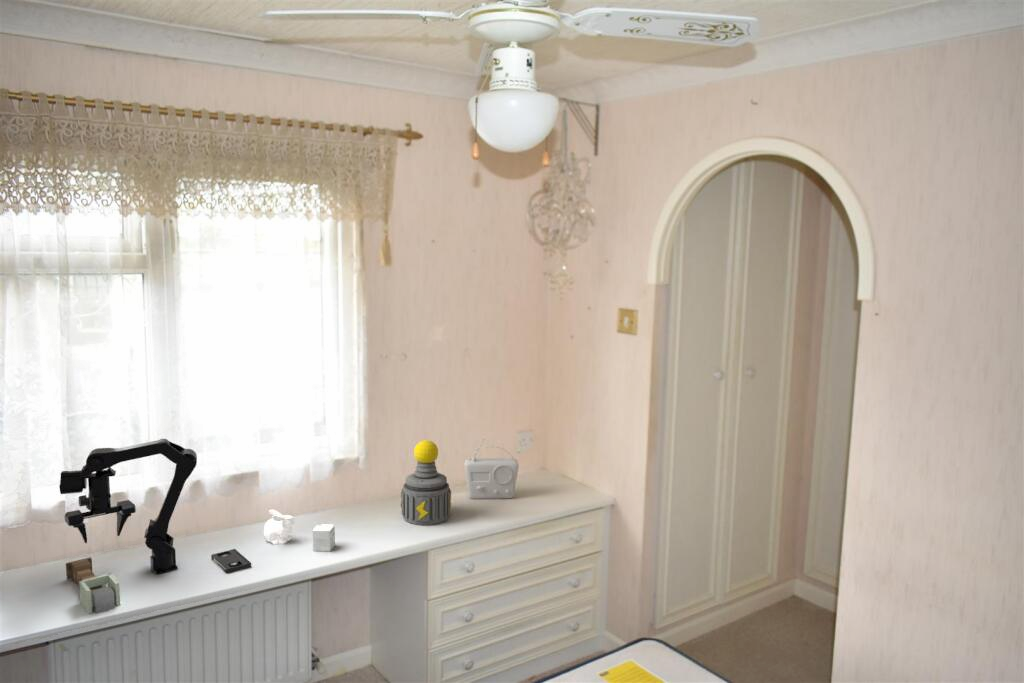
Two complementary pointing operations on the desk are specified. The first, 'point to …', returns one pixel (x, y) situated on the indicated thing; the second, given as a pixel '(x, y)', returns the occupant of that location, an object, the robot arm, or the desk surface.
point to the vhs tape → (230, 561)
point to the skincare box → (323, 537)
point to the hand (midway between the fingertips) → (102, 539)
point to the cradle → (96, 581)
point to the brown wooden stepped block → (80, 571)
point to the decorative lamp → (426, 489)
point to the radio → (491, 477)
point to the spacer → (102, 599)
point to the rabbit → (278, 528)
